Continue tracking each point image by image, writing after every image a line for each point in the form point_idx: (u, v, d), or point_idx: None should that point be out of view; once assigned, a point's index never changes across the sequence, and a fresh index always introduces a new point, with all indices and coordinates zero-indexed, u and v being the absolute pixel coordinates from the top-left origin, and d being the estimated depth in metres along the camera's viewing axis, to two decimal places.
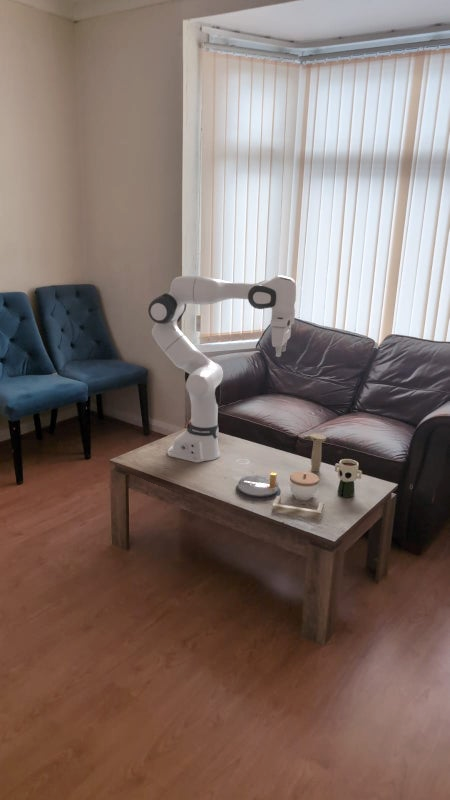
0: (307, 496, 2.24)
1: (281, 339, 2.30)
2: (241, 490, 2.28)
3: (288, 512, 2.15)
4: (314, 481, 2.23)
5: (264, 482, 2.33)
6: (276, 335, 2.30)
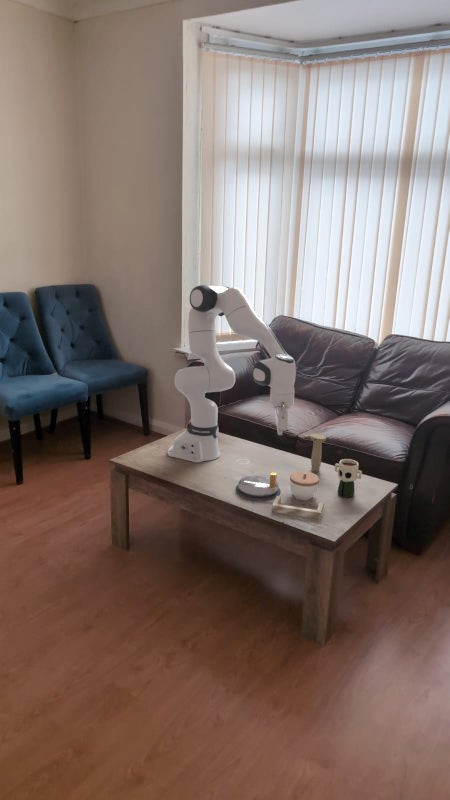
0: (307, 496, 2.24)
1: None
2: (241, 490, 2.28)
3: (288, 512, 2.15)
4: (314, 481, 2.23)
5: (264, 482, 2.33)
6: None
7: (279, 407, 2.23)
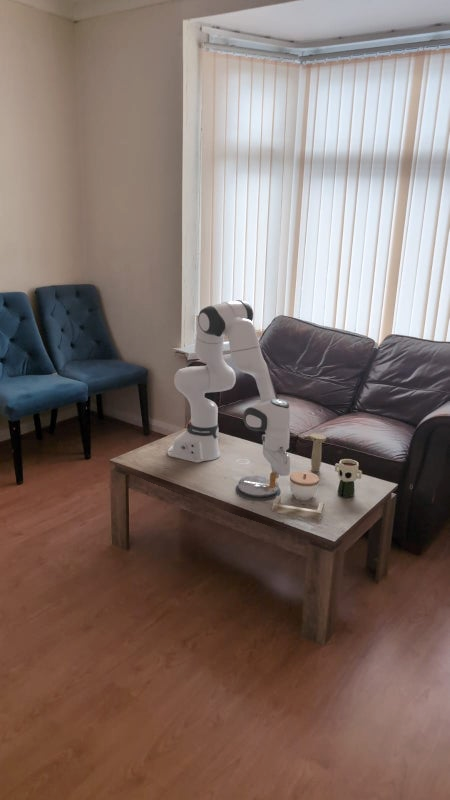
0: (307, 496, 2.24)
1: None
2: (241, 490, 2.28)
3: (288, 512, 2.15)
4: (314, 481, 2.23)
5: (264, 482, 2.33)
6: None
7: (278, 452, 2.23)
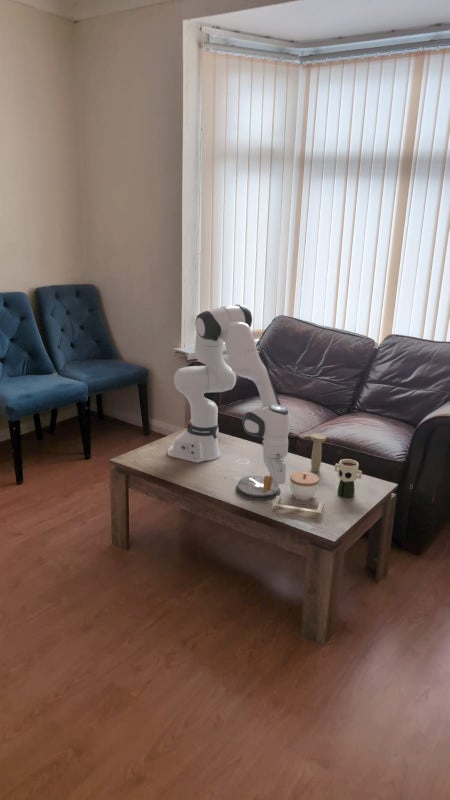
0: (307, 496, 2.24)
1: None
2: None
3: (288, 512, 2.15)
4: (314, 481, 2.23)
5: None
6: None
7: (275, 459, 2.18)
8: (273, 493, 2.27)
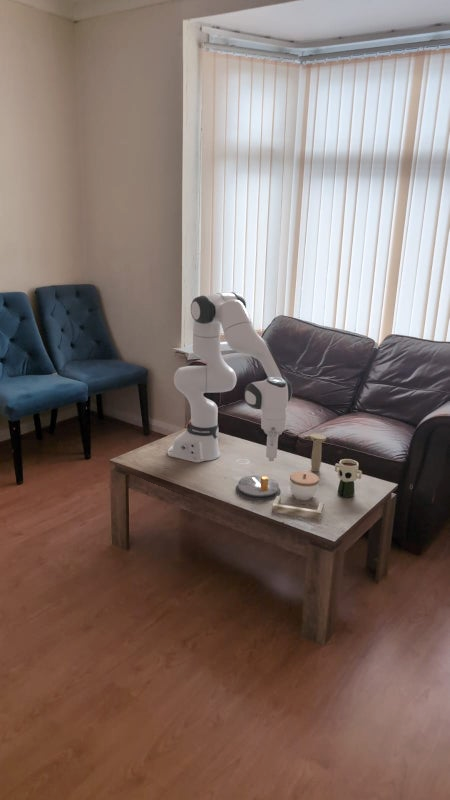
0: (307, 496, 2.24)
1: None
2: None
3: (288, 512, 2.15)
4: (314, 481, 2.23)
5: None
6: None
7: (269, 433, 2.12)
8: (269, 494, 2.26)
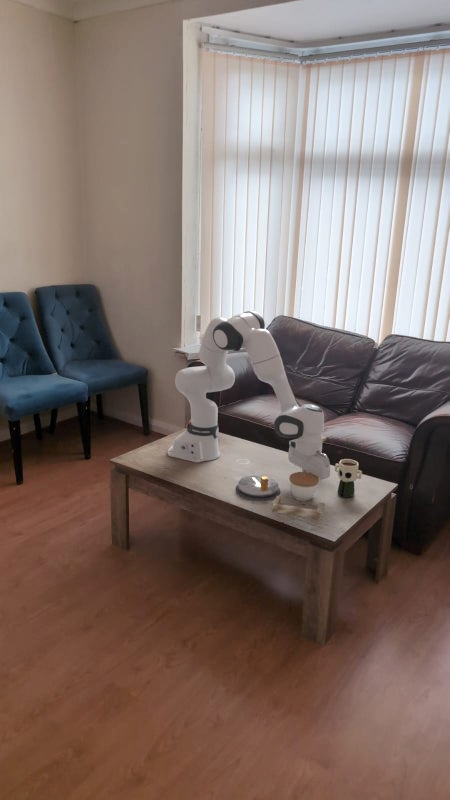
0: (306, 497, 2.24)
1: None
2: None
3: (288, 512, 2.15)
4: (313, 482, 2.23)
5: None
6: None
7: (316, 456, 2.26)
8: (269, 494, 2.26)
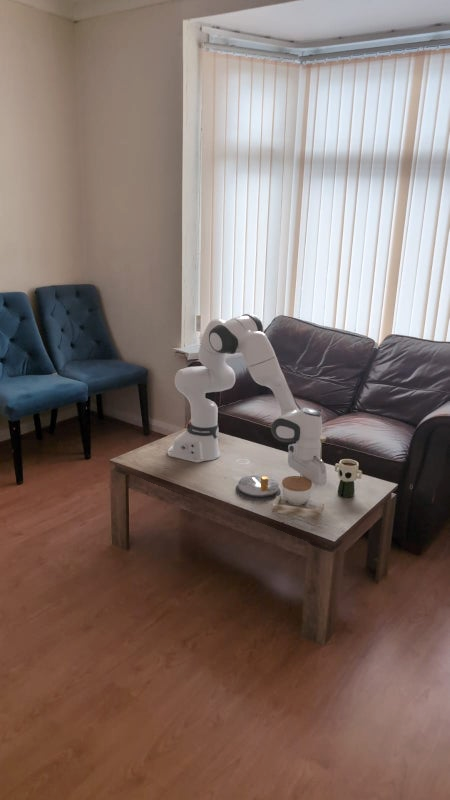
0: (295, 501, 2.20)
1: None
2: None
3: (288, 512, 2.15)
4: (302, 487, 2.18)
5: None
6: None
7: (313, 462, 2.21)
8: (269, 494, 2.26)
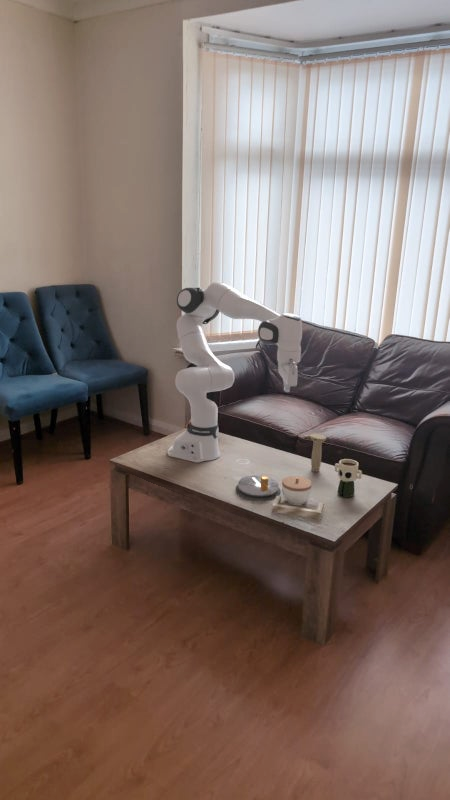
0: (295, 501, 2.20)
1: None
2: None
3: (288, 512, 2.15)
4: (303, 487, 2.18)
5: None
6: None
7: (288, 364, 2.31)
8: (269, 494, 2.26)
